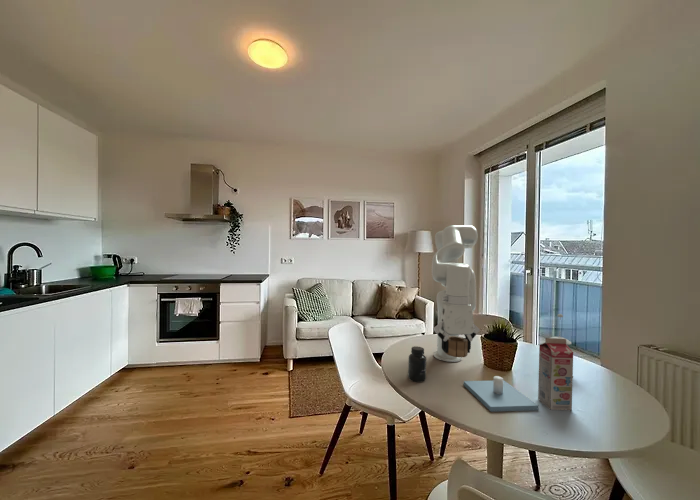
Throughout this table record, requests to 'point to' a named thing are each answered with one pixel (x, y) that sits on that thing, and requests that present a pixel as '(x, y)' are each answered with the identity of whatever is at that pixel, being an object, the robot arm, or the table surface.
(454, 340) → the walnut ring
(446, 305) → the robot arm
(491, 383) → the post board
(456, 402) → the table surface
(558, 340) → the juice carton
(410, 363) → the supplement bottle
